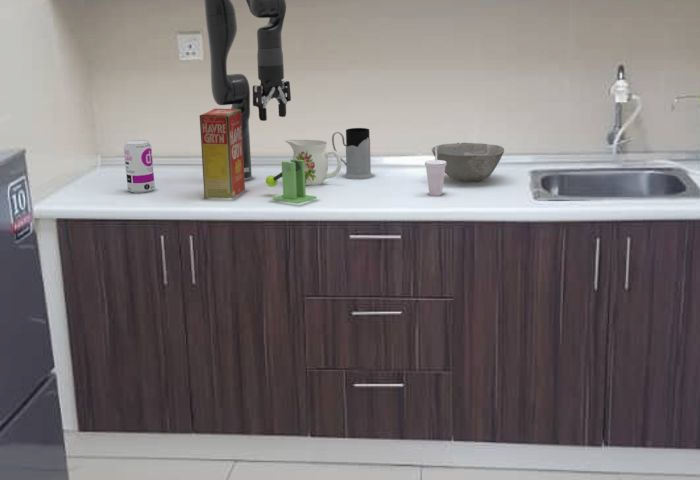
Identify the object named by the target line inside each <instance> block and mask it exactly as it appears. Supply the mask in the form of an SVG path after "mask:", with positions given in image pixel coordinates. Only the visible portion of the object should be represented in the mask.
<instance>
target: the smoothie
mask: <svg viewBox="0 0 700 480" xmlns="http://www.w3.org/2000/svg"><path fill="white" fill-rule="evenodd" d="M434 147H435V146H434ZM424 166H425V169H426V170H425V171H426V178H427V185H428V186H427V187H428V194H429V195H430V196H434V197H435V196H442V194H443V188H444V181H445V174H446V173H445V166H446V161H443V160H437V147H435V156H434V159H430V160H429V159H428V160H426V161H424Z"/></svg>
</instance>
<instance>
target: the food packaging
mask: <svg viewBox="0 0 700 480" xmlns="http://www.w3.org/2000/svg"><path fill="white" fill-rule="evenodd" d="M199 129H200V130H199V131H200V143H201V144H200V145H201V163H202V180H203V182H202V183H203V199H213V198H214V199H233V198H235V197H236V196H238V195H239V194H241V192H243V191H244V190H246V181H245V178H244V160H243V140H242V121H241V109H231V108H212V109H211V110H209V111H207V112H204V113H202V114H199Z"/></svg>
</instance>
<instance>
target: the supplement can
mask: <svg viewBox="0 0 700 480" xmlns="http://www.w3.org/2000/svg"><path fill="white" fill-rule="evenodd" d="M123 153H124V165H125V173H126V174H125V175H126V185H127V186H126V187H127V190H128V191H129V192H130V193H134V194H143V193H144V194H145V193H150V192H152V191H154V189H156V183H155V175H154V174H155V173H154V162H153V161H154V160H153V149H152V145H151V144H150V141H149V140H146V139H137V140H136V139H135V140H128V141H126V142H125V144H124V147H123Z"/></svg>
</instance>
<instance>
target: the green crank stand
mask: <svg viewBox="0 0 700 480" xmlns="http://www.w3.org/2000/svg"><path fill="white" fill-rule="evenodd" d="M294 161H297V162H298V164H299V166H300V169H299V170H297V171H296V166H295V163H294ZM281 172H282V177H281V179H282V194H281V195H280V194H279V195H277V196H274V197H272V200H273V201H280V202H286V203H293V204H298V205H299V204H302V203H306V202H309V201H312V200H315V199H317V196H315V195H308V194H307V192H306V190H307V189H306V185H305V165H304V160H297V159H293V158H291V159H290V161H286V160H285V161H284V160H283V161H281Z"/></svg>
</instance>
